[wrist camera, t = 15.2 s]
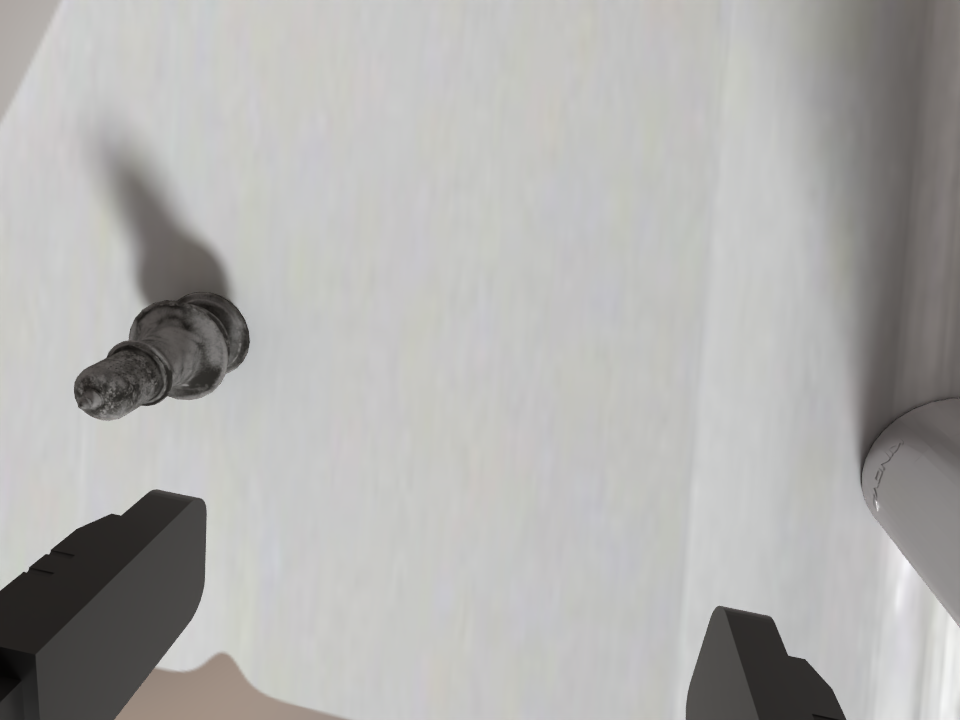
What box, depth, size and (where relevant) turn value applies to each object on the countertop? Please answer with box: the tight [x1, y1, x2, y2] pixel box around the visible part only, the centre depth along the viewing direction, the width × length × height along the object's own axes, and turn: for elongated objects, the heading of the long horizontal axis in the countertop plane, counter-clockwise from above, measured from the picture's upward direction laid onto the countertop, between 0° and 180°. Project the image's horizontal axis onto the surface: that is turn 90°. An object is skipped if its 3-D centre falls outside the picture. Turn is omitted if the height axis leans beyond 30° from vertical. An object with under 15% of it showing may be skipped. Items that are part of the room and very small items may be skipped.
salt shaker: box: [74, 292, 250, 421], centre depth 38 cm, size 6×6×12 cm
